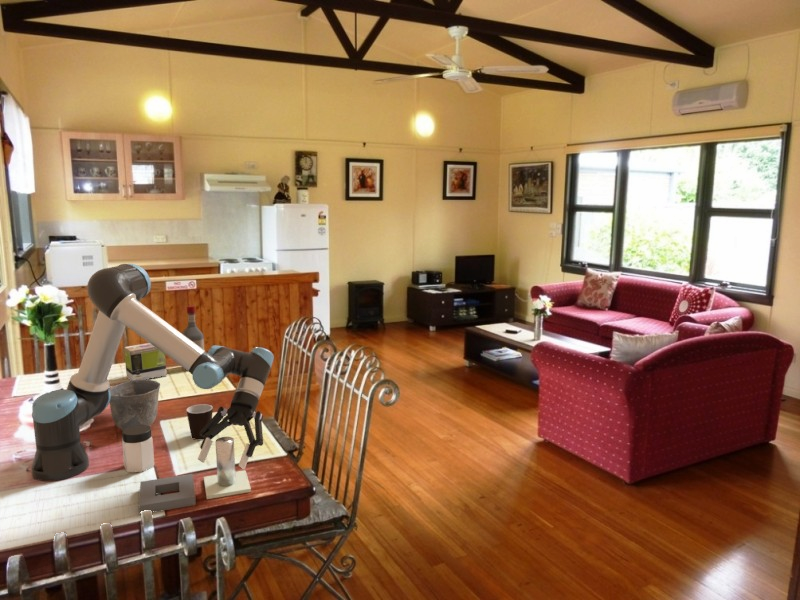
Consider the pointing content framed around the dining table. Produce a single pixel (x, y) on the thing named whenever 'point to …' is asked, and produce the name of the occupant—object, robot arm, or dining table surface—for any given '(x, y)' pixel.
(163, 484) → the grey square base
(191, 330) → the liquor
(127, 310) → the robot arm
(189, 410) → the coffee mug
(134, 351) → the tea box
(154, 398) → the grey tapered pot
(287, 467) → the dining table surface
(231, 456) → the steel peg
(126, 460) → the jar
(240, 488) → the cream square tile
